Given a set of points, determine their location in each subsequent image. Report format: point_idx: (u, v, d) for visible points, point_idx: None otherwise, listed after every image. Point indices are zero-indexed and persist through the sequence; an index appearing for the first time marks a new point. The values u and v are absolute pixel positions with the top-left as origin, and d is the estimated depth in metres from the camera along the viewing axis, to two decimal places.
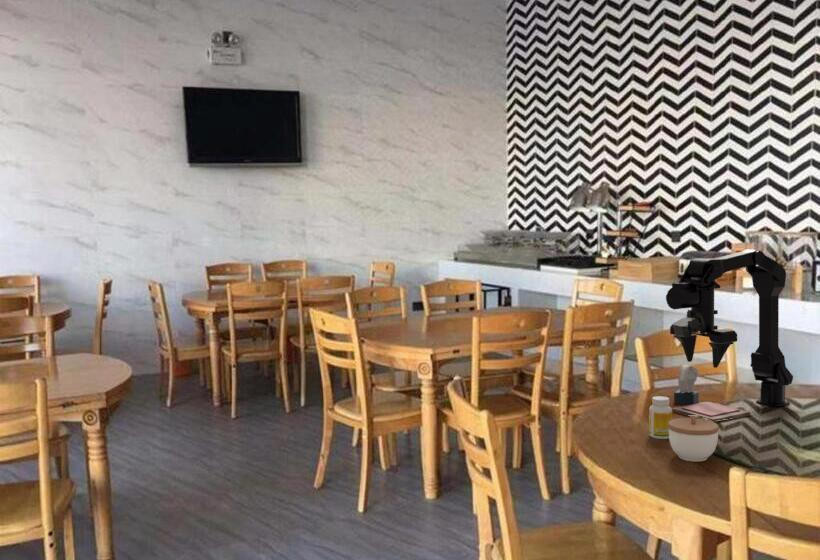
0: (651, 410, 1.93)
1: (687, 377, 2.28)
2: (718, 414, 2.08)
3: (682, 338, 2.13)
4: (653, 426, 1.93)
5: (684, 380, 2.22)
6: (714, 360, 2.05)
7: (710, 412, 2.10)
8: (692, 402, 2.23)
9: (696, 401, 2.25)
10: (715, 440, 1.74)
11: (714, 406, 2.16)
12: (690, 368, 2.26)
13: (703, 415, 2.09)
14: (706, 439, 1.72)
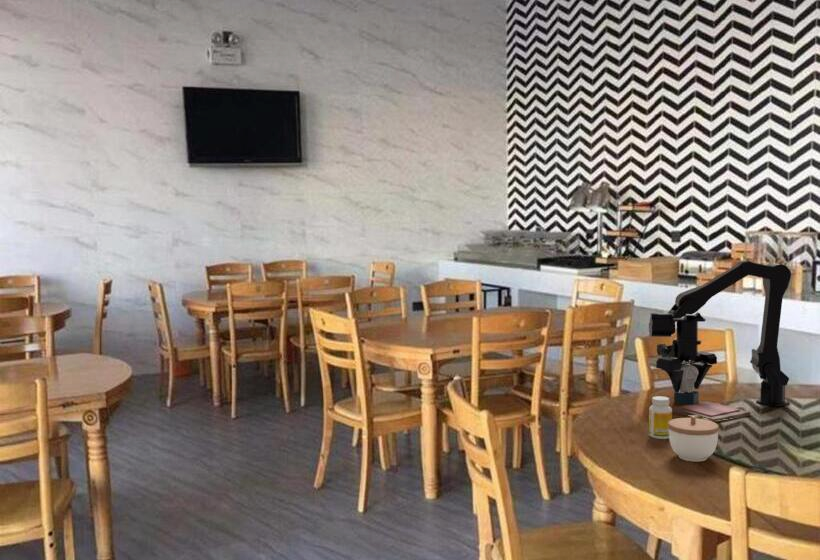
0: (651, 410, 1.93)
1: (687, 377, 2.28)
2: (718, 414, 2.08)
3: None
4: (653, 426, 1.93)
5: (684, 380, 2.22)
6: None
7: (710, 412, 2.10)
8: (692, 402, 2.23)
9: (696, 401, 2.25)
10: (715, 440, 1.74)
11: (714, 406, 2.16)
12: (690, 368, 2.26)
13: (703, 415, 2.09)
14: (706, 439, 1.72)
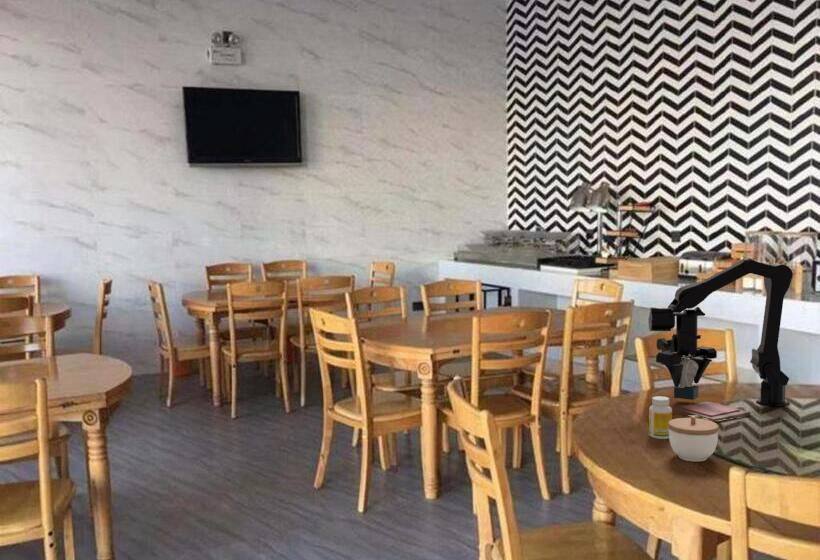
0: (651, 410, 1.93)
1: (687, 371, 2.28)
2: (718, 414, 2.08)
3: (691, 359, 2.30)
4: (653, 426, 1.93)
5: (684, 374, 2.22)
6: None
7: (710, 412, 2.10)
8: (692, 396, 2.23)
9: (696, 395, 2.25)
10: (715, 440, 1.74)
11: (714, 406, 2.16)
12: (690, 362, 2.26)
13: (703, 415, 2.09)
14: (706, 439, 1.72)
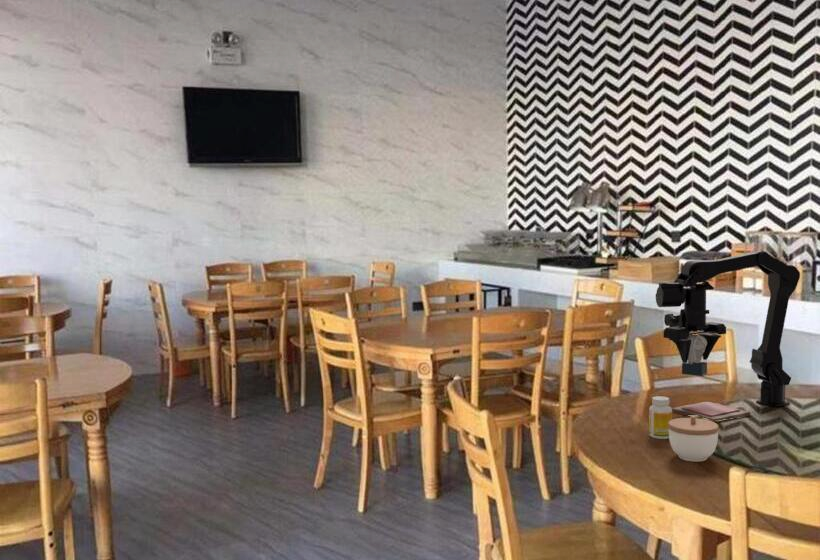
0: (651, 410, 1.93)
1: (695, 348, 2.23)
2: (718, 414, 2.08)
3: (700, 335, 2.25)
4: (653, 426, 1.93)
5: (692, 350, 2.17)
6: None
7: (710, 412, 2.10)
8: (700, 372, 2.18)
9: (704, 372, 2.20)
10: (715, 440, 1.74)
11: (714, 406, 2.16)
12: (698, 338, 2.21)
13: (703, 415, 2.09)
14: (706, 439, 1.72)
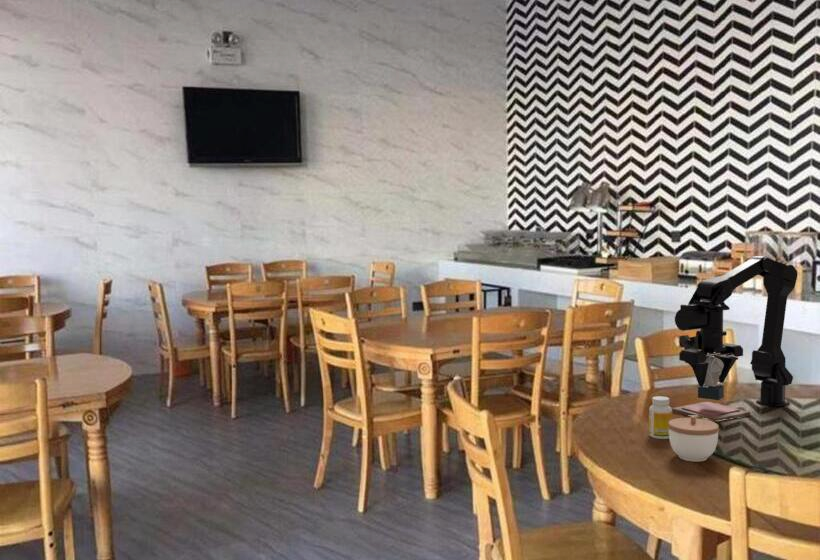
0: (651, 410, 1.93)
1: (711, 370, 2.15)
2: (718, 414, 2.08)
3: (716, 357, 2.17)
4: (653, 426, 1.93)
5: (709, 373, 2.10)
6: None
7: (710, 412, 2.10)
8: (717, 396, 2.10)
9: (721, 395, 2.12)
10: (715, 440, 1.74)
11: (714, 406, 2.16)
12: (715, 360, 2.13)
13: (703, 415, 2.09)
14: (706, 440, 1.72)
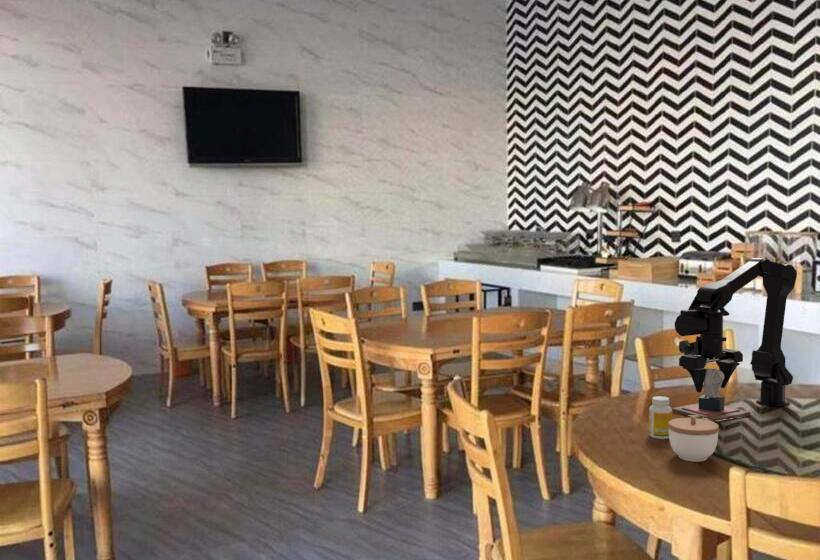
0: (651, 410, 1.93)
1: (712, 381, 2.16)
2: (718, 414, 2.08)
3: (717, 363, 2.17)
4: (653, 426, 1.93)
5: (710, 385, 2.10)
6: None
7: (710, 412, 2.10)
8: (718, 408, 2.11)
9: (722, 407, 2.13)
10: (715, 440, 1.74)
11: None
12: (715, 372, 2.13)
13: (703, 415, 2.09)
14: (706, 439, 1.72)
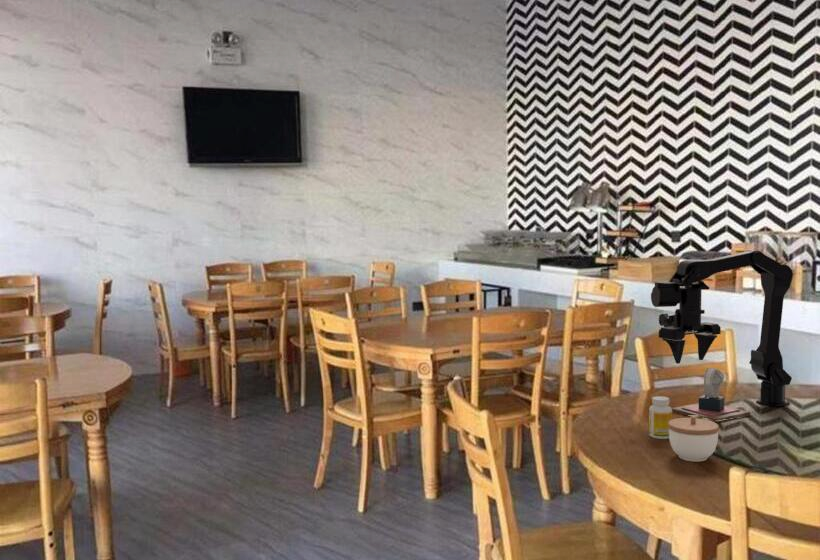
0: (651, 410, 1.93)
1: (712, 381, 2.16)
2: (718, 414, 2.08)
3: (696, 335, 2.23)
4: (653, 426, 1.93)
5: (710, 385, 2.10)
6: None
7: (710, 412, 2.10)
8: (718, 408, 2.11)
9: (722, 407, 2.13)
10: (715, 440, 1.74)
11: None
12: (715, 372, 2.13)
13: (703, 415, 2.09)
14: (706, 439, 1.72)
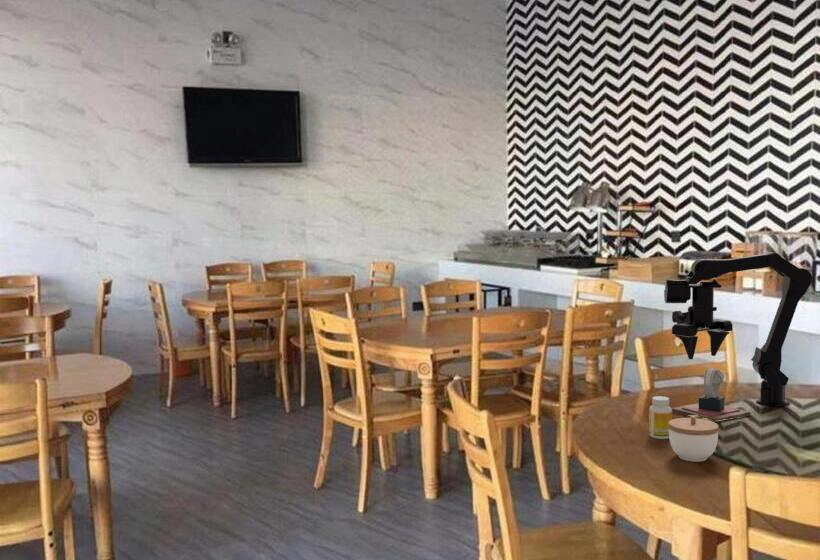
0: (651, 410, 1.93)
1: (712, 381, 2.16)
2: (718, 414, 2.08)
3: (708, 332, 2.29)
4: (653, 426, 1.93)
5: (710, 385, 2.10)
6: None
7: (710, 412, 2.10)
8: (718, 408, 2.11)
9: (722, 407, 2.13)
10: (715, 440, 1.74)
11: None
12: (715, 372, 2.13)
13: (703, 415, 2.09)
14: (706, 439, 1.72)
